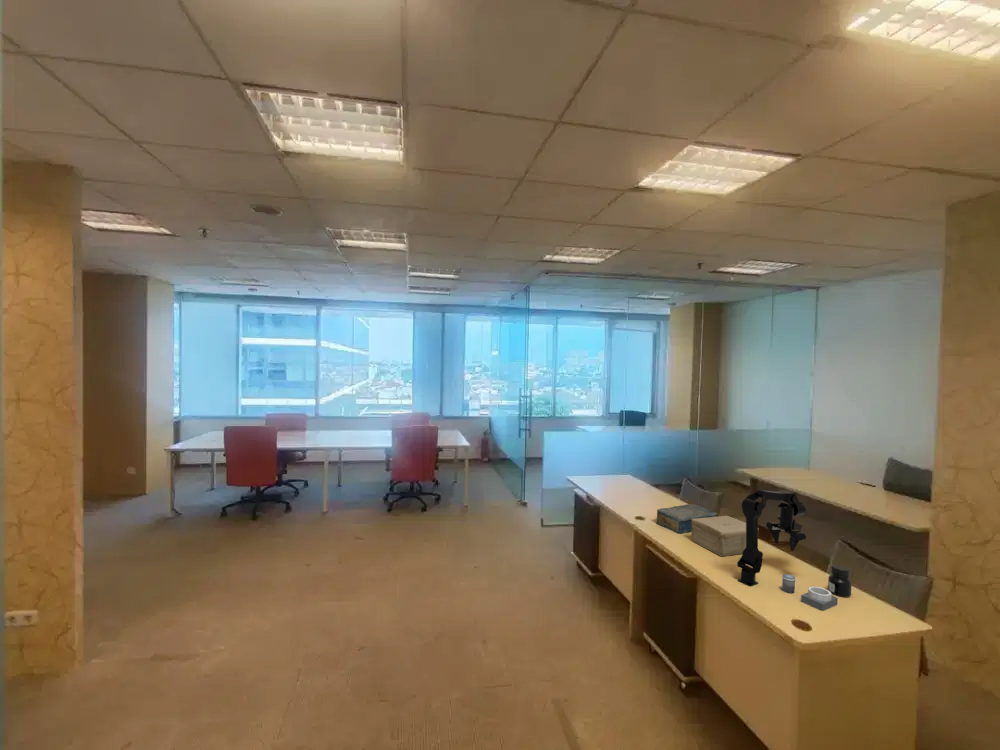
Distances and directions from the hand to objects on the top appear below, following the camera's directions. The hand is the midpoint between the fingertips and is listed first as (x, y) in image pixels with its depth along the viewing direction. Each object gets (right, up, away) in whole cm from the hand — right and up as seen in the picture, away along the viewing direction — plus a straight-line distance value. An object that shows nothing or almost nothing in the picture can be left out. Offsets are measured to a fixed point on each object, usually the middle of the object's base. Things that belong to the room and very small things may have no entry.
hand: (784, 547), depth 246 cm
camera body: (-1, -15, -28) cm, 32 cm away
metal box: (-23, -11, +69) cm, 73 cm away
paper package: (-14, -12, +36) cm, 40 cm away
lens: (-8, -14, -17) cm, 24 cm away
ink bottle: (+15, -15, -18) cm, 28 cm away
